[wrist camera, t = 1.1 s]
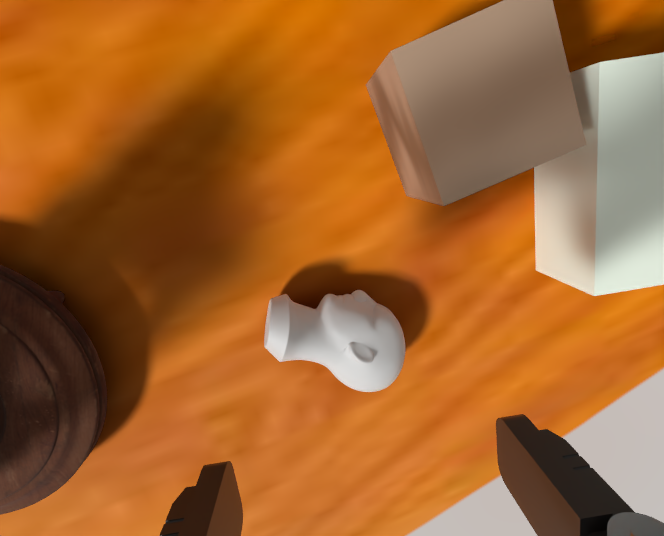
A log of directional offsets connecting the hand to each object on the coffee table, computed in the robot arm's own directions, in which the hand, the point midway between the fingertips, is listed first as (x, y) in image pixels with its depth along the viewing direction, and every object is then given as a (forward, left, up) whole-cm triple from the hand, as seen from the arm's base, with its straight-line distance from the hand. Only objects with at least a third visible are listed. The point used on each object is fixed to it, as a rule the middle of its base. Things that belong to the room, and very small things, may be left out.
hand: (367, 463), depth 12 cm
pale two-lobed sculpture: (0, 0, -12) cm, 12 cm away
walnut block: (-10, +7, -12) cm, 17 cm away
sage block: (-6, +16, -12) cm, 21 cm away
